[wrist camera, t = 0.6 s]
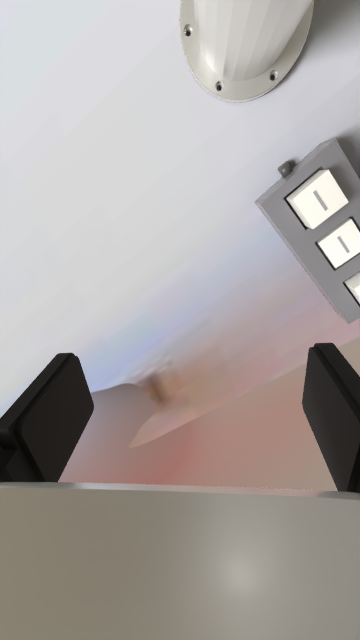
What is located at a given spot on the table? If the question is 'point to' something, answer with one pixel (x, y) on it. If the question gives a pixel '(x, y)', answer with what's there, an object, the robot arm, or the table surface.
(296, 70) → the table surface
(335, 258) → the middle button
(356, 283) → the button
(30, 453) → the robot arm
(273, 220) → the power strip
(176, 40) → the table surface
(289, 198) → the button
